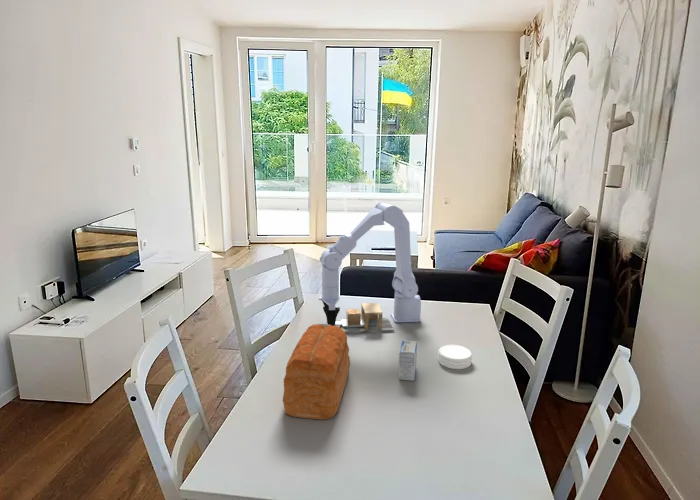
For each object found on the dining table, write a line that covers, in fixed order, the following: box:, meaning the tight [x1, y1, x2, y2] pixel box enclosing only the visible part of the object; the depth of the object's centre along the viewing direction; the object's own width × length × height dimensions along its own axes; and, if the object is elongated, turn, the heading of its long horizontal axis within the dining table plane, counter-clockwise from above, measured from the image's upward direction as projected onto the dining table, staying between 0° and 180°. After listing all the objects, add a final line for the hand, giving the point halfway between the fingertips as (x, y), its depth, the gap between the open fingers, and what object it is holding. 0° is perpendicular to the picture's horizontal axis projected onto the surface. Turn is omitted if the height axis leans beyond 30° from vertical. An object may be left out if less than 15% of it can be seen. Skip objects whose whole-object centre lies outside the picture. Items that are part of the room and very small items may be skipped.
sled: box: [326, 308, 365, 327], centre depth 169 cm, size 13×6×5 cm, turn 97°
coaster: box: [437, 344, 473, 370], centre depth 146 cm, size 10×10×4 cm
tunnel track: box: [338, 302, 395, 335], centre depth 170 cm, size 18×11×7 cm, turn 97°
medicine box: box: [398, 339, 418, 382], centre depth 138 cm, size 8×4×9 cm, turn 168°
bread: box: [282, 323, 351, 421], centre depth 128 cm, size 14×27×15 cm, turn 172°
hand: (330, 321), depth 169 cm, fingers open, 7 cm apart
